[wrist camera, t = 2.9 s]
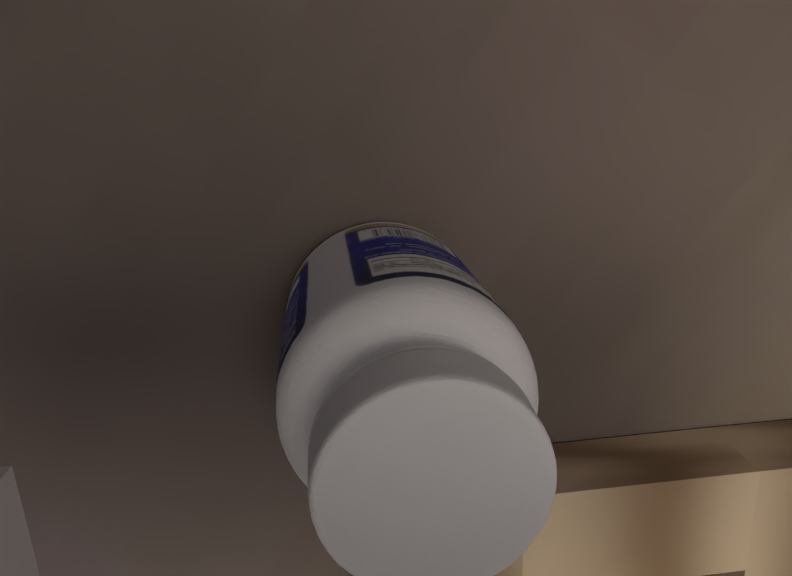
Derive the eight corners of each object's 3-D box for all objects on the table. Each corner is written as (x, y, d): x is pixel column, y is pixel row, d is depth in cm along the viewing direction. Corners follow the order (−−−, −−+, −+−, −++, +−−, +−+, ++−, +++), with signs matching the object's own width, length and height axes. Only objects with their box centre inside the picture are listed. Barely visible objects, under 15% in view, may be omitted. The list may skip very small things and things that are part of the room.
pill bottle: (369, 423, 19) (407, 682, 11) (248, 301, 18) (184, 494, 9) (507, 314, 19) (657, 499, 10) (394, 178, 17) (466, 265, 9)
